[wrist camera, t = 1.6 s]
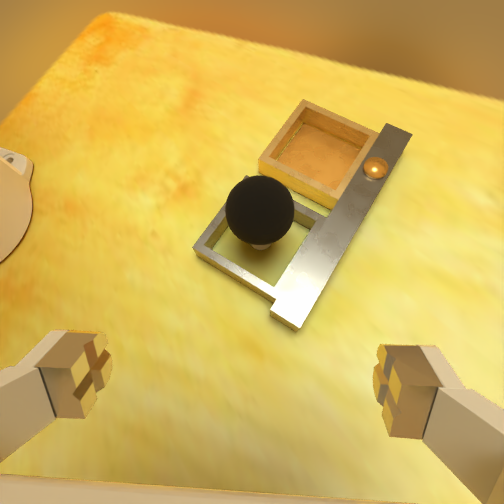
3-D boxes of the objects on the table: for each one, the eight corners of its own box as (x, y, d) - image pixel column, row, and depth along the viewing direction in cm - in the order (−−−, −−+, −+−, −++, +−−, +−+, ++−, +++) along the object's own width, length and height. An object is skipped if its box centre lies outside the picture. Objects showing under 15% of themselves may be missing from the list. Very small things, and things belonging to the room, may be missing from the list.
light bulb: (300, 239, 35) (313, 188, 25) (263, 280, 33) (263, 242, 24) (257, 207, 36) (255, 148, 27) (221, 245, 35) (205, 197, 25)
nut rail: (190, 265, 34) (182, 254, 31) (305, 108, 41) (309, 85, 38) (296, 332, 31) (300, 327, 28) (401, 152, 38) (414, 131, 35)
